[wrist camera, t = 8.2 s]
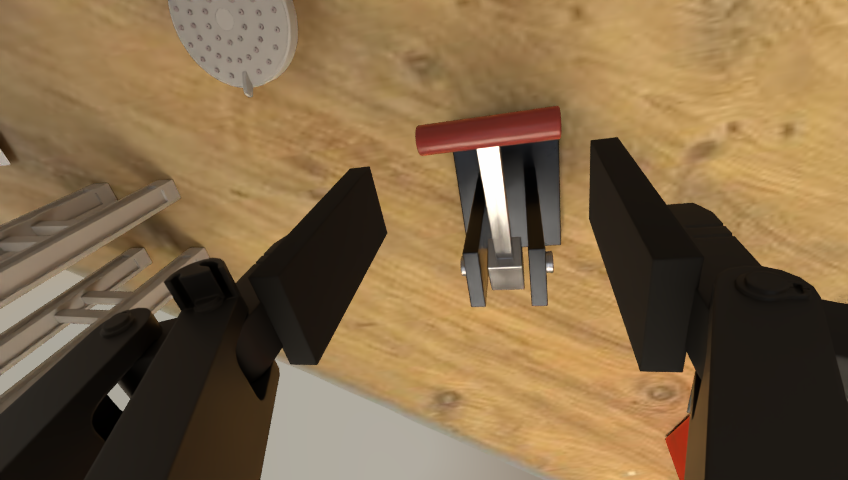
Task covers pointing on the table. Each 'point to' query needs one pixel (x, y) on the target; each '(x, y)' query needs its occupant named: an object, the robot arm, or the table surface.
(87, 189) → the stool
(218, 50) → the showerhead
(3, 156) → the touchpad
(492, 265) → the tap lever
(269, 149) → the table surface
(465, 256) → the tap mount
